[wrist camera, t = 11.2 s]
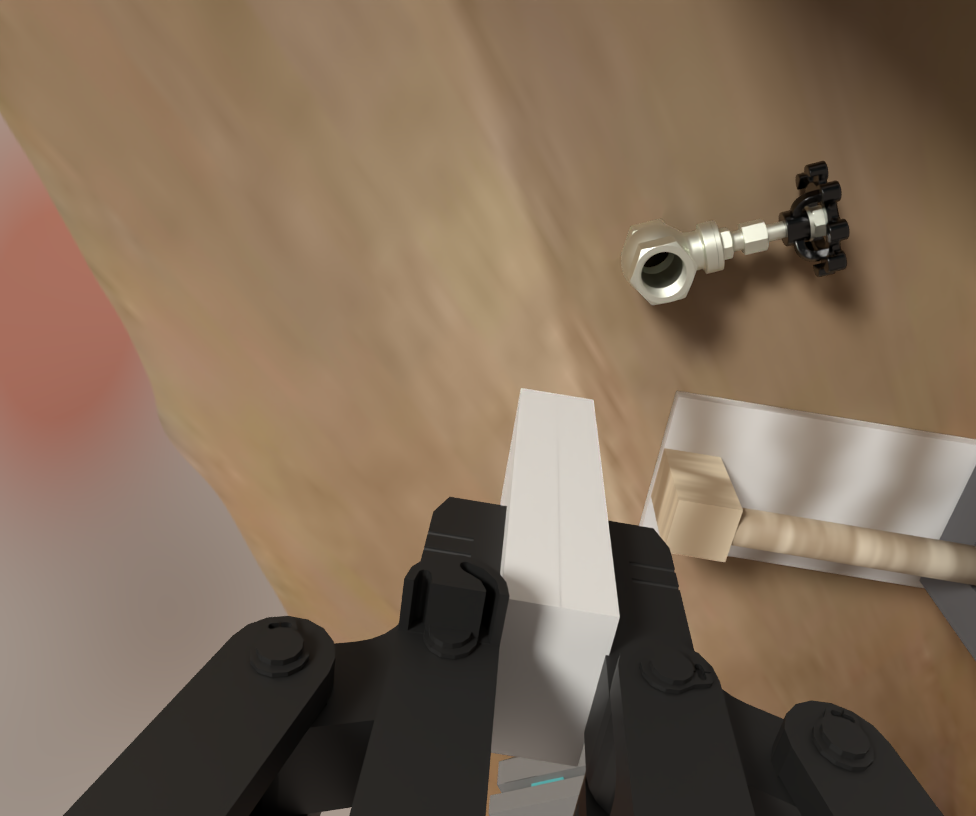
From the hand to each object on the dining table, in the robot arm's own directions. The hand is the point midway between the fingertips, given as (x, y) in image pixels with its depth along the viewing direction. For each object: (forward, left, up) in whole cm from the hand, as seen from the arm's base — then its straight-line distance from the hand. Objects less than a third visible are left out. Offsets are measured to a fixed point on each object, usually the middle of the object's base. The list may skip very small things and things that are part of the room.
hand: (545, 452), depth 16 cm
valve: (+1, +10, -35) cm, 36 cm away
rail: (+18, +27, -34) cm, 47 cm away
